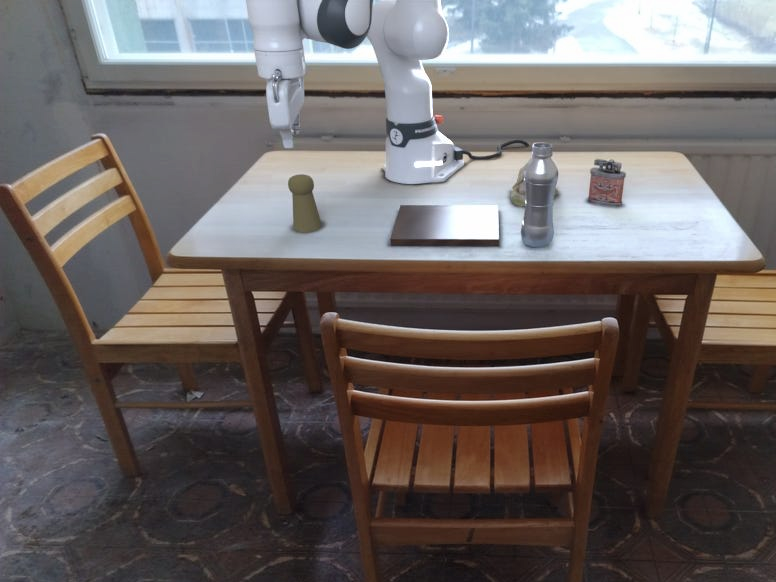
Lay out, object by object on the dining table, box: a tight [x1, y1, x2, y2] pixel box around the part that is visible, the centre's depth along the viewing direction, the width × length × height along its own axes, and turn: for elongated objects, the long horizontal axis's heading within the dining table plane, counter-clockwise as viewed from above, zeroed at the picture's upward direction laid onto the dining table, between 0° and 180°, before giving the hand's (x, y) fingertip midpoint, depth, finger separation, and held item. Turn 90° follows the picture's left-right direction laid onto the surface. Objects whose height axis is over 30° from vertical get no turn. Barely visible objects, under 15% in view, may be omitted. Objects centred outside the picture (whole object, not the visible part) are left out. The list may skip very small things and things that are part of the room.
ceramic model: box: [510, 155, 559, 207], centre depth 151 cm, size 14×11×10 cm
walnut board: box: [389, 204, 500, 248], centre depth 139 cm, size 22×18×2 cm
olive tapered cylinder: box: [287, 173, 323, 233], centre depth 137 cm, size 6×6×11 cm
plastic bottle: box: [520, 141, 559, 248], centre depth 127 cm, size 6×7×20 cm
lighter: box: [587, 158, 627, 208], centre depth 148 cm, size 8×3×10 cm, turn 65°
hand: (292, 140), depth 129 cm, fingers open, 8 cm apart
